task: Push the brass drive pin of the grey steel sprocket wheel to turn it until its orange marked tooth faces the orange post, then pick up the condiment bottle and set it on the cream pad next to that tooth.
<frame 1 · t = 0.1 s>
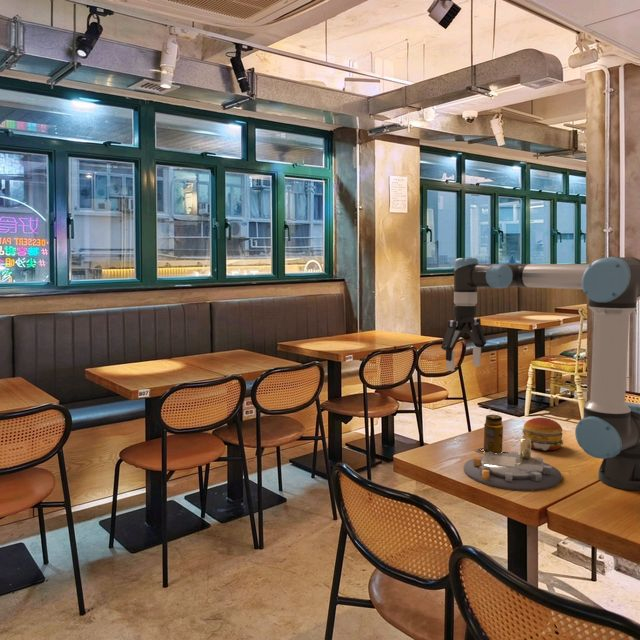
hand: (463, 368, 207), 28 cm above the table, tool pointing down, fingers open, 13 cm apart
sprocket base: (511, 473, 187), on the table
burger: (542, 447, 213), on the table
sprocket: (512, 456, 186), point 5 cm above the table, hinge at 0.0°
condiment: (490, 452, 208), on the table
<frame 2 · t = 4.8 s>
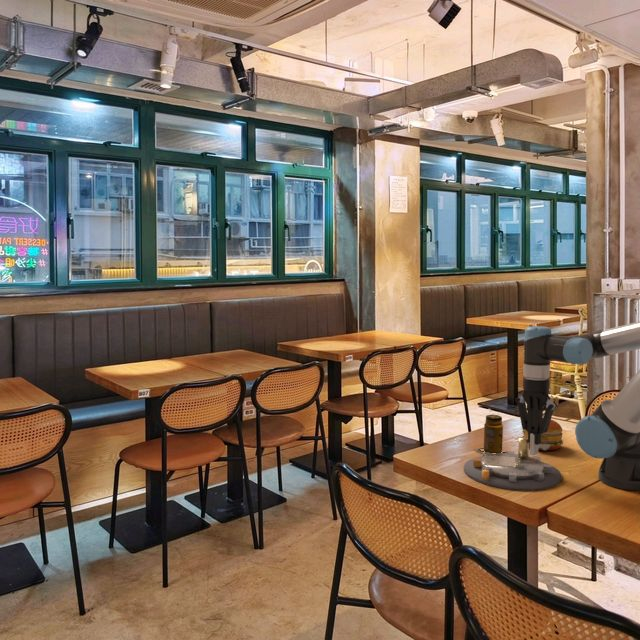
hand: (533, 454, 189), 5 cm above the table, tool pointing down, fingers closed
sprocket: (512, 456, 186), point 5 cm above the table, hinge at 5.7°, touching gripper
everything else where it was.
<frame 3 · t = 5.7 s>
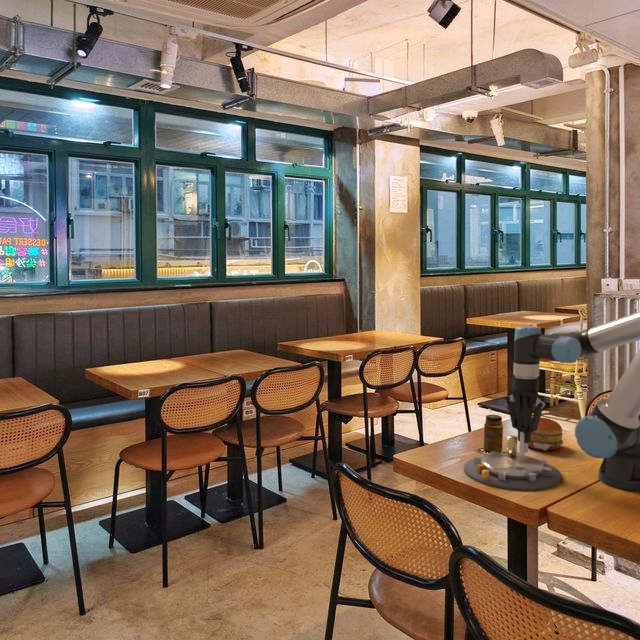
hand: (523, 452, 191), 5 cm above the table, tool pointing down, fingers closed
sprocket: (512, 456, 186), point 5 cm above the table, hinge at 35.2°, touching gripper
everything else where it was.
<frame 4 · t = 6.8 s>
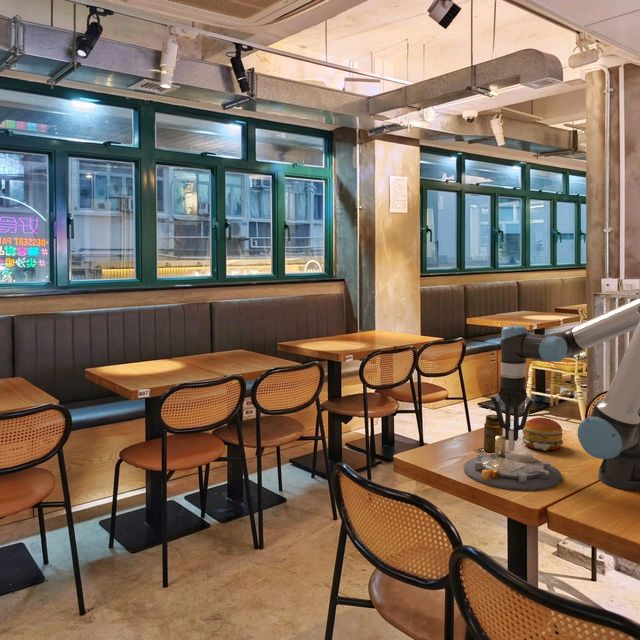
hand: (511, 450, 193), 5 cm above the table, tool pointing down, fingers closed
sprocket: (512, 456, 186), point 5 cm above the table, hinge at 65.0°, touching gripper
everything else where it was.
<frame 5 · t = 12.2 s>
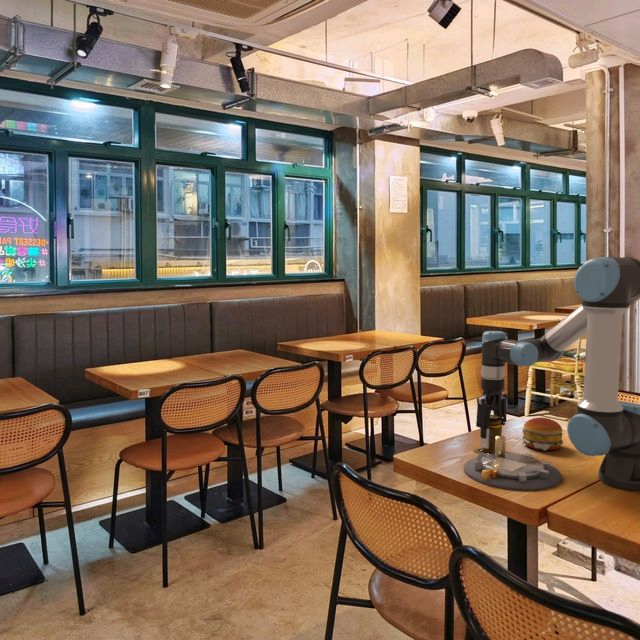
hand: (490, 445, 208), 2 cm above the table, tool pointing down, fingers closed on condiment, 6 cm apart
sprocket: (512, 456, 186), point 5 cm above the table, hinge at 65.0°
condiment: (489, 452, 207), on the table, touching gripper
everything else where it was.
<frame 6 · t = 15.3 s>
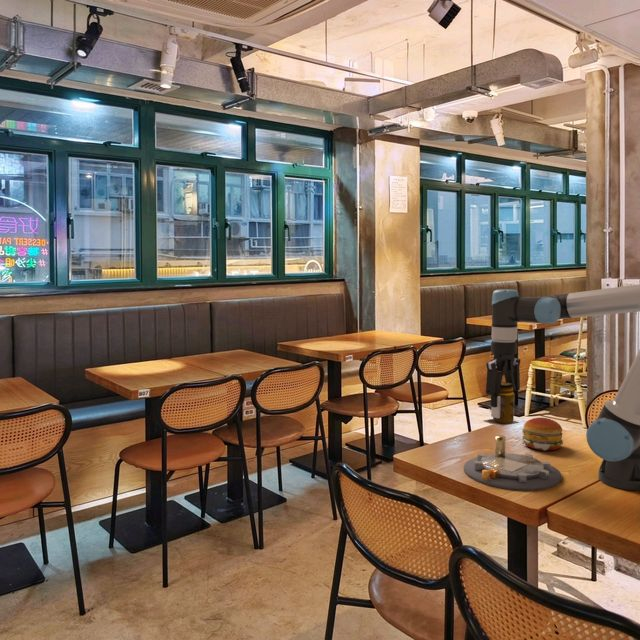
hand: (502, 415, 189), 17 cm above the table, tool pointing down, fingers closed on condiment, 6 cm apart
condiment: (500, 423, 189), point 14 cm above the table, touching gripper
everything else where it was.
when the fingers open (7 cm above the table, at t = 18.0 s): condiment drops 1 cm, resting on sprocket.
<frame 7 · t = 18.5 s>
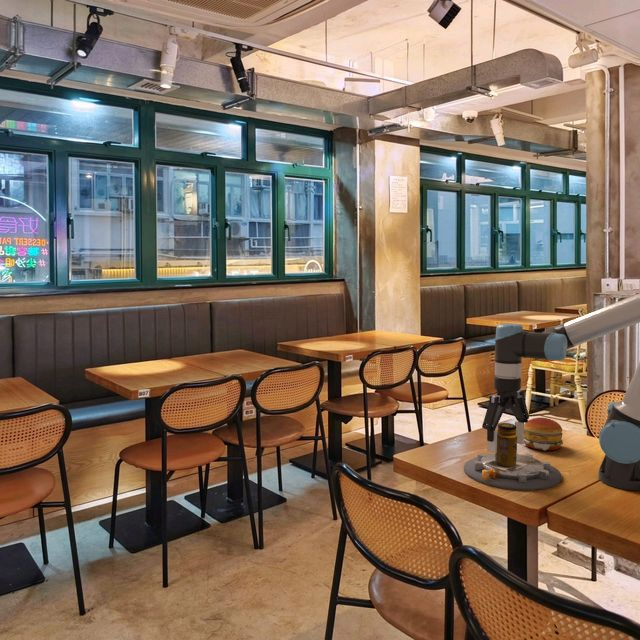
hand: (505, 447, 184), 9 cm above the table, tool pointing down, fingers open, 13 cm apart
sprocket: (512, 456, 186), point 5 cm above the table, hinge at 65.0°, touching condiment
condiment: (503, 465, 183), point 3 cm above the table, touching sprocket
everything else where it was.
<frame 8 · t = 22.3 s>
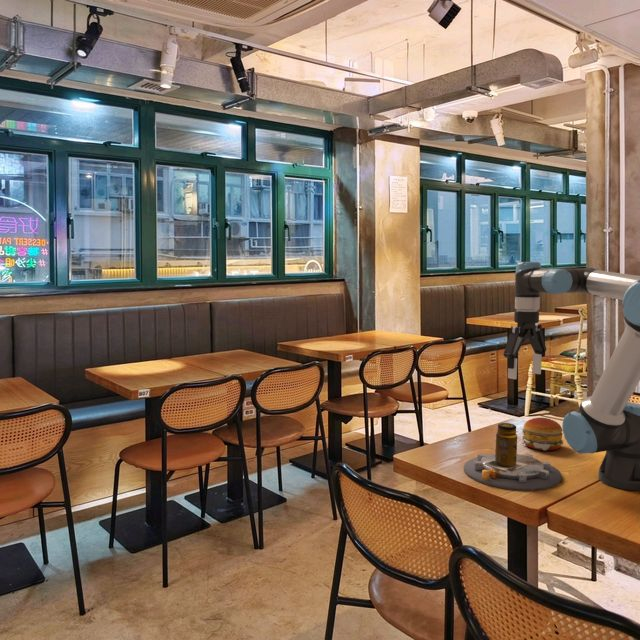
hand: (524, 376, 199), 27 cm above the table, tool pointing down, fingers open, 13 cm apart
nothing on the table moved.
at the end: sprocket at +65° (first picture: +0°); condiment inside the target area (1.0 cm from its centre), point 3.4 cm above the table; condiment tilted 0° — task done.
